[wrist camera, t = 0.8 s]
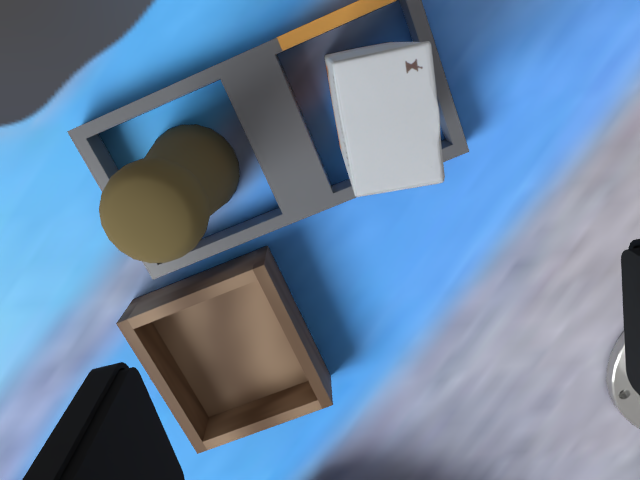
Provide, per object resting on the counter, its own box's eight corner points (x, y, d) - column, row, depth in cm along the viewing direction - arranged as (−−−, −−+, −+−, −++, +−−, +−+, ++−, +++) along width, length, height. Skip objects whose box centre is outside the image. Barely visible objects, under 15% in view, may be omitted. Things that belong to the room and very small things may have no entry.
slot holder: (407, -20, 31) (414, -25, 29) (460, 145, 35) (470, 152, 32) (80, 126, 34) (65, 132, 31) (160, 268, 37) (151, 281, 35)
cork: (148, 117, 33) (78, 148, 23) (243, 131, 34) (216, 166, 24) (145, 208, 36) (79, 273, 25) (235, 219, 36) (207, 288, 26)
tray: (267, 245, 37) (263, 264, 33) (330, 375, 40) (332, 404, 37) (132, 299, 38) (116, 323, 34) (206, 421, 42) (197, 453, 38)
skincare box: (321, 54, 32) (329, 57, 21) (390, 41, 32) (434, 36, 21) (338, 151, 34) (353, 200, 23) (402, 139, 34) (449, 182, 23)
